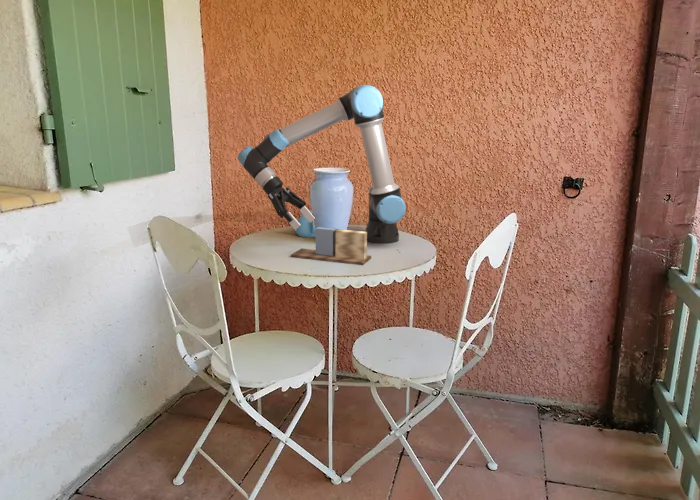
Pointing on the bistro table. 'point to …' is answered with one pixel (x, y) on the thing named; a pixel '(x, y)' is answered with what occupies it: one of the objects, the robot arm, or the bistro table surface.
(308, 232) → the blue round finned body
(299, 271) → the bistro table surface
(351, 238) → the l-shaped wooden stand
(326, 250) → the pale blue rectangular block
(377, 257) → the bistro table surface
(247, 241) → the bistro table surface
